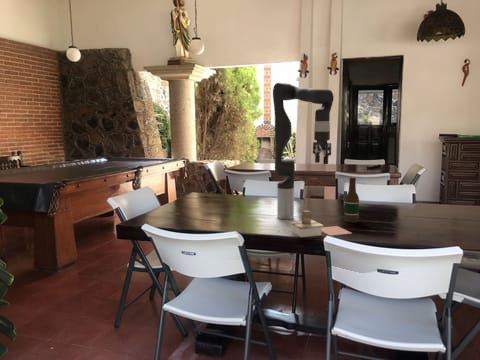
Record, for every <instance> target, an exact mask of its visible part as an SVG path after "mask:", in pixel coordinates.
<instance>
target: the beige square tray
mask: <svg viewBox="0 0 480 360" xmlns="http://www.w3.org/2000/svg"><path fill="white" fill-rule="evenodd" d="M321 228H322V227H318V228H308V229H299V228H297V227H296V226H294V225H292V224H291V233H293V234H295V235H296V236H297V237H300V238H309V237H318V236H322V231H321Z"/></svg>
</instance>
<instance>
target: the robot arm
mask: <svg viewBox="0 0 480 360" xmlns="http://www.w3.org/2000/svg"><path fill="white" fill-rule="evenodd" d="M334 97H335V96H334V93H333V91H332V90H330V89H322V88H312V87H299V86H298V87H297V86H295V85H292V84H291V83H286V82H285V83H284V82H276V83H275V84H274V86H273V87H272V101H273V110H274V143H275V144H274V147H275V150H274V151H275V152H274V153H275V154H274V173H275V175H276V176H277V177H286V178H285V179H284V180H281V181H279V182H277V187H276V189H277V191H276V192H277V194H276V195H277V198H276V199H277V211H276V213H277V214H276V215H277V219H280V220H292V219H294V217H295V216H294V215H295V213H294V212H295V207H294V206H295V199H294V198H295V173H296V171H295V170H296V165H295V161H294V160H293V159H287V158H286V159H282V158H283V157H282V156H283V152H284V150H285V148H286V146H287V145H288V144H289V142H290V140H291V139H292V122H291V119H290V118H289V116H288V114H287V112H286V110H285V106H284V105H285V104H284V101H291V100H299V101H301V102H305V103H307V102H308V103H311V104H317V105H321V106H320V108H318V109H316V110H315V113H314V129H313V130H314V134H313V139H314V141H313V143H312V154H313V155H314V158H315V159H314V162H315V163H316V164H317V163H320V161H321V160H320V159H321V157H320V155H321V153H322V155H323V160H322V161H323V163H322V164H323V165H328V164H329V157H330V156H332V143H331V142H328V141H330V137H331V133H330V132H331V123H330V121H331V118H330V115H331V114H330V112H331V110H332V106H333V102H334Z"/></svg>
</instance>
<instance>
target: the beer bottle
mask: <svg viewBox="0 0 480 360" xmlns="http://www.w3.org/2000/svg"><path fill="white" fill-rule="evenodd" d="M348 180H349V182H348V192H347V193H346V196H345V198H344V215H343V216H344V217H343V221H344V222H347V223H352V224H353V223H358V222H359V214H360V213H359V212H360V211H359V210H360V209H359V208H360V198H359V195H358V193H357V190H356V186H357V184H356V181H357V177H352V176H351V177H349V179H348Z"/></svg>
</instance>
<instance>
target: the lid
mask: <svg viewBox="0 0 480 360" xmlns="http://www.w3.org/2000/svg"><path fill="white" fill-rule="evenodd" d="M289 224H290V225H291V226H292V225H294V226H296V227H297V228H299V229H308V228H318V227H325V226H324V224H321V223H320V222H317V221H316V220H313V219H312V211H310V210H307V209H305V210H301V220H293V221H289Z"/></svg>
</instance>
